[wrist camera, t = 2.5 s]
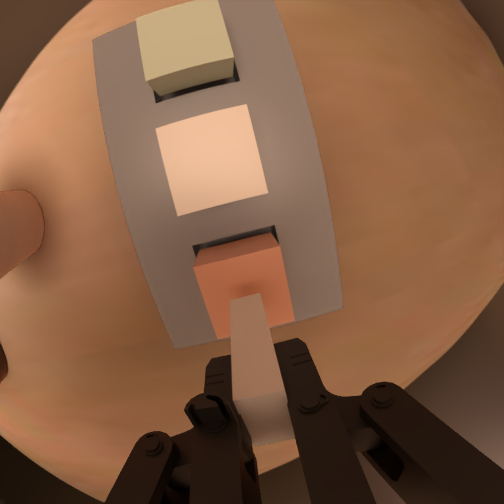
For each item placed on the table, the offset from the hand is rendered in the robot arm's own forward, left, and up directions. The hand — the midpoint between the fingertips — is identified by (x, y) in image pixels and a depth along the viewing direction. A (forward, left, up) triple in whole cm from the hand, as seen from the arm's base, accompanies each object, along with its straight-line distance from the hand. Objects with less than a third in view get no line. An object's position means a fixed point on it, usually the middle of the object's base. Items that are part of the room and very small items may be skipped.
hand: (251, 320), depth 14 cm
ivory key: (0, +8, -6) cm, 10 cm away
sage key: (0, +16, -6) cm, 17 cm away
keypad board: (0, +8, -9) cm, 12 cm away
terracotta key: (0, 0, -6) cm, 6 cm away
